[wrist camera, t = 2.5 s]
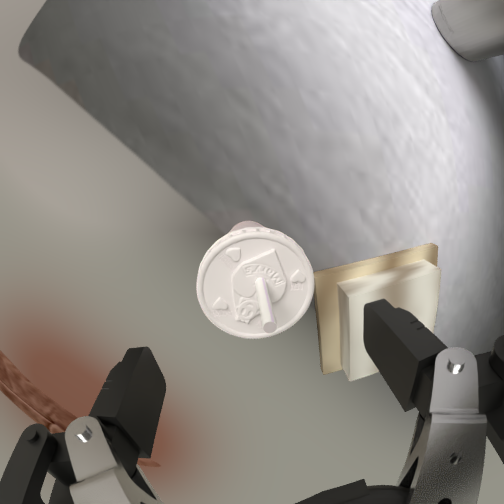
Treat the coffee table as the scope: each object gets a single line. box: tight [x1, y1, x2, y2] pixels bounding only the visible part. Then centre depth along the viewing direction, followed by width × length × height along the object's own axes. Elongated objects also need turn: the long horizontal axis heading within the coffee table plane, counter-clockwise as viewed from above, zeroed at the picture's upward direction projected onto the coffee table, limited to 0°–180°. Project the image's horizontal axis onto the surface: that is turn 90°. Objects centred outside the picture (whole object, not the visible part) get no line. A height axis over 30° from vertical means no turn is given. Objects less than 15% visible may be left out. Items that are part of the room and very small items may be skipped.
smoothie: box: [197, 221, 314, 339], centre depth 17 cm, size 6×6×14 cm
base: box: [313, 243, 441, 382], centre depth 24 cm, size 14×12×4 cm
